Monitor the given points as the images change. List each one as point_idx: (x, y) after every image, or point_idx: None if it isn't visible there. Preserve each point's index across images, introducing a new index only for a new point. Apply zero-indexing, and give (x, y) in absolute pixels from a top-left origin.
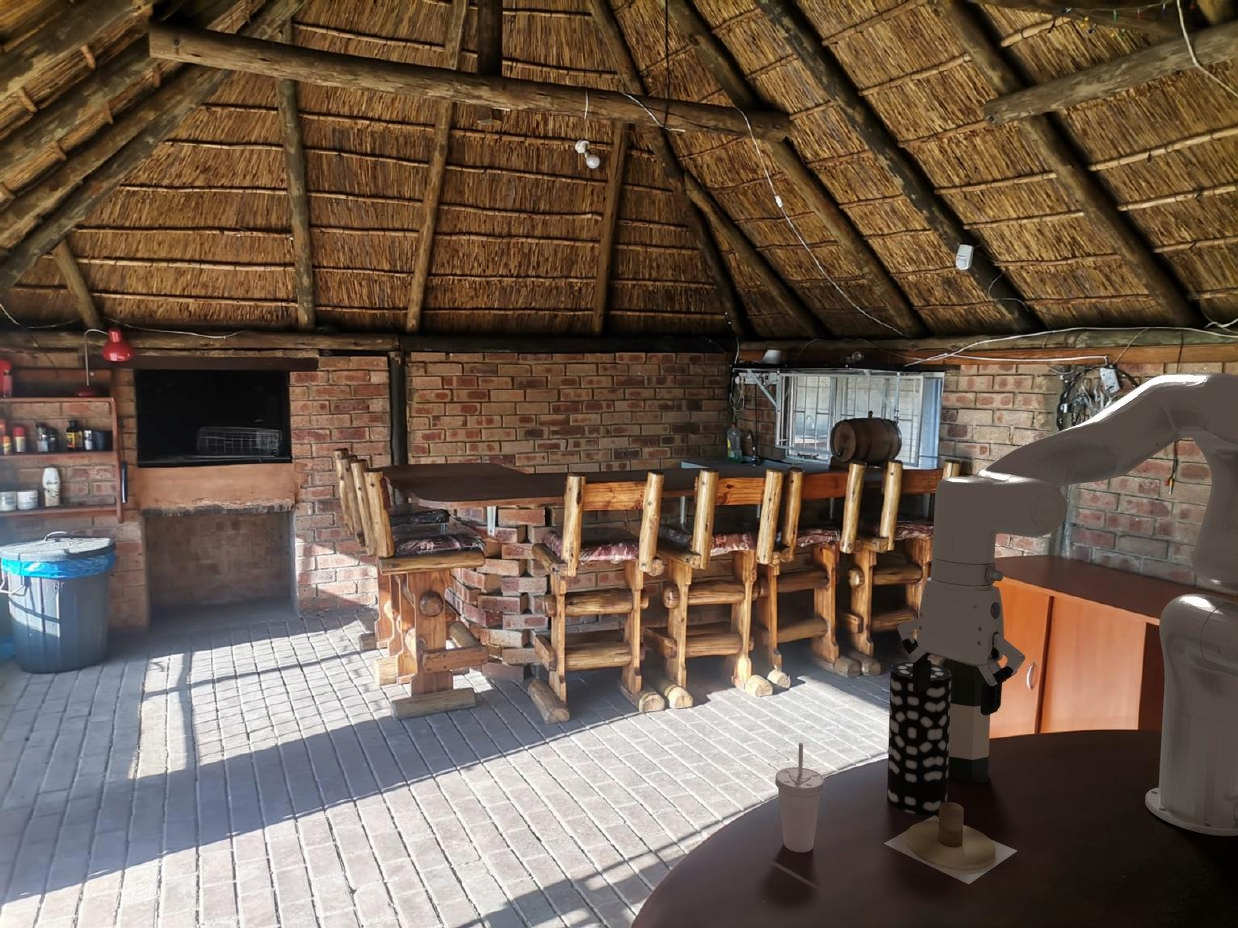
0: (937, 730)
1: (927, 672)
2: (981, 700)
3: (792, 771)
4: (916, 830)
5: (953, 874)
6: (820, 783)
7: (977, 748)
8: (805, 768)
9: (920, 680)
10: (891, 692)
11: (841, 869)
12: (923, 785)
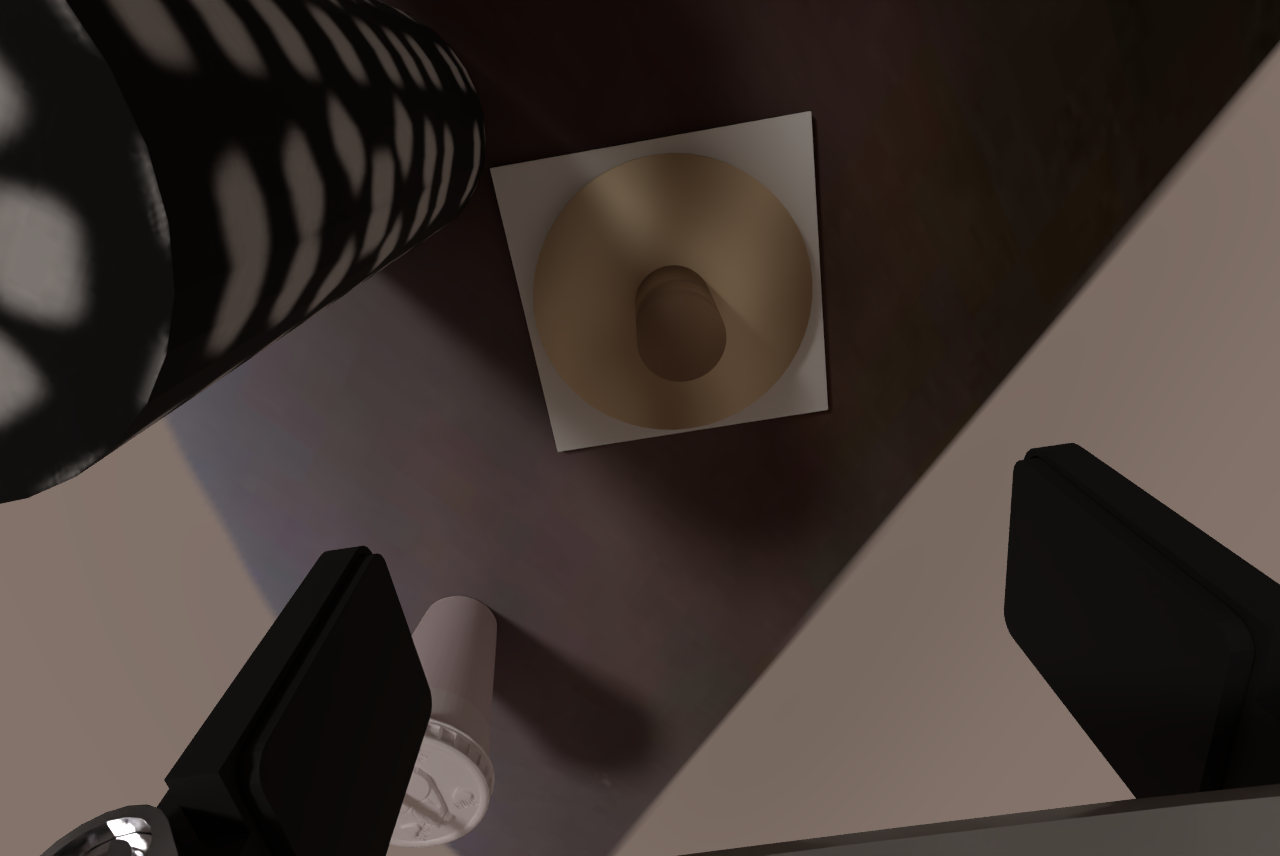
0: (376, 196)
1: (333, 721)
2: (1072, 709)
3: None
4: (568, 343)
5: (774, 408)
6: (474, 773)
7: None
8: None
9: (394, 762)
10: None
11: (593, 604)
12: (440, 219)
